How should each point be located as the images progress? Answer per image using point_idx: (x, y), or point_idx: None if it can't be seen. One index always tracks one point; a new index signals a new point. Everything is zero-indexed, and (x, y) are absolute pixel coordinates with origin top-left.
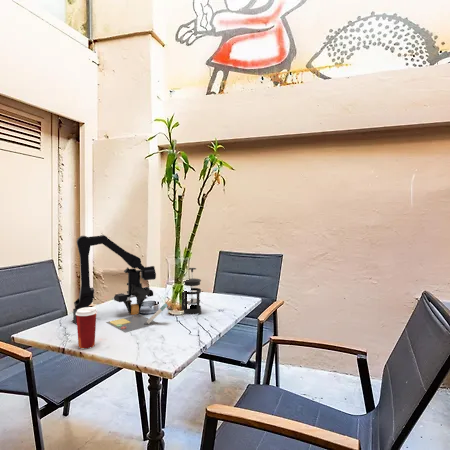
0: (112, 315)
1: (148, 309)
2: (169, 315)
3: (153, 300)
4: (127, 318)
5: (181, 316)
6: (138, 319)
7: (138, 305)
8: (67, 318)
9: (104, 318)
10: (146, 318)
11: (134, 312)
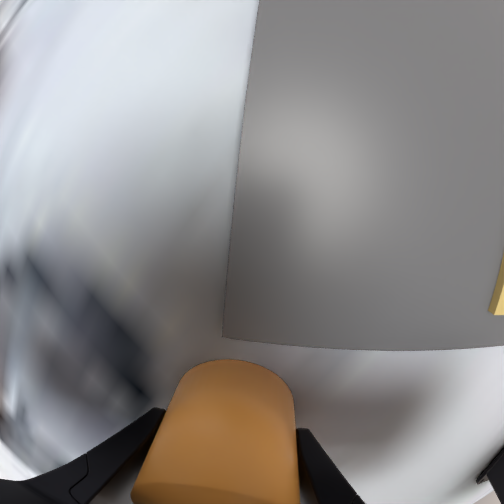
0: (373, 484)
1: (43, 396)
2: (3, 76)
3: (6, 448)
4: (452, 302)
5: (2, 10)
6: (399, 120)
7: (156, 477)
8: (479, 496)
9: (454, 453)
10: (273, 55)
11: (266, 406)
